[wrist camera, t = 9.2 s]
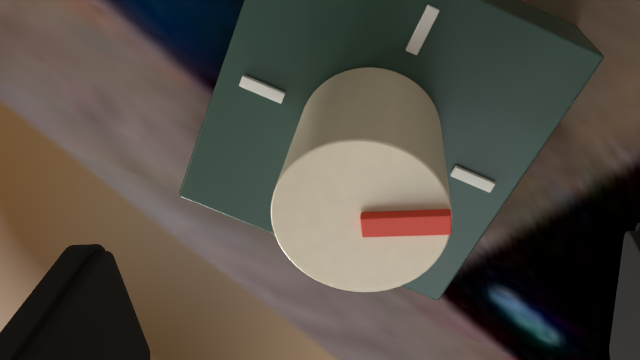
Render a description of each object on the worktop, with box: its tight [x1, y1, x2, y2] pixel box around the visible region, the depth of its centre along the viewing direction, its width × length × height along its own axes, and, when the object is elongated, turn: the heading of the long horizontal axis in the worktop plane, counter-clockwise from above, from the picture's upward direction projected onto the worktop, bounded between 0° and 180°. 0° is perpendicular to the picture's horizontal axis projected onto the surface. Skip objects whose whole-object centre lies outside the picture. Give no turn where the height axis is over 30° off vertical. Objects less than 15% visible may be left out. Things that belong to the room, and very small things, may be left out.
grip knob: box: [271, 67, 452, 292], centre depth 17 cm, size 4×4×5 cm
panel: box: [179, 0, 604, 300], centre depth 20 cm, size 10×10×3 cm
